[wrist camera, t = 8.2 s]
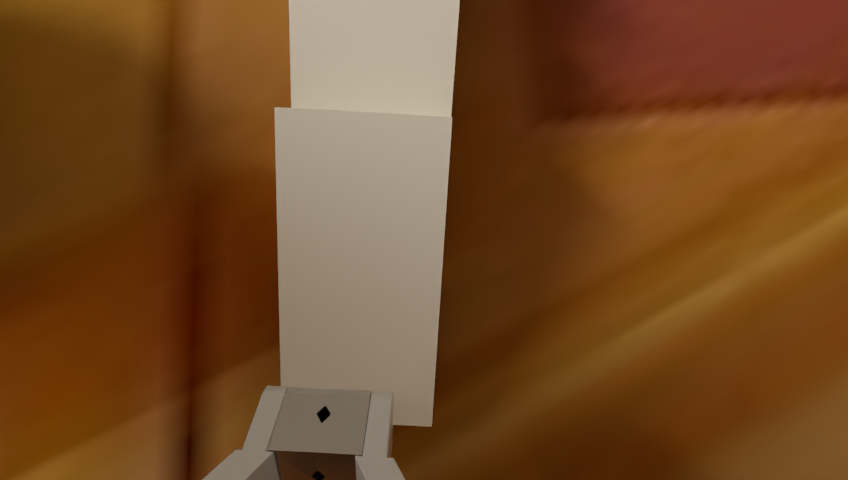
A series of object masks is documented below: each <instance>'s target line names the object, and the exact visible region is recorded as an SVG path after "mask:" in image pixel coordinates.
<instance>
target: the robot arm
mask: <svg viewBox="0 0 848 480" xmlns="http://www.w3.org/2000/svg"><path fill="white" fill-rule="evenodd" d="M393 409H394V392H374V391H366V390H340V389H331V390H325V389H311V388H298V387H286V386H268V385H267V386H266V388H265V389H264V391H263V392H262V395H261V398H260V401H259V404H258V406H257V409H256V412H255V415H254V417H253V420H252V423H251V426H250V428H249V431H248V434H247V437H246V440H245V442H244V445H243V448H242V450H234V451H233V452H232V453H231V454H230V455H229V456H228V457H227V458H226V459H224V460H223V461H222V462H221V463H220V464H219V465H218V466H217V467H216V468H214V469H213V470H212V471H211V472H210V473H209V474H208V475H207V476H206V477H204V478H203V479H202V480H405V478H404V476H403V474H402V472H401V470H400V469H399V467H398V465H397V463H396V461H395V459H394V458H391V452H392V437H393Z"/></svg>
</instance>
